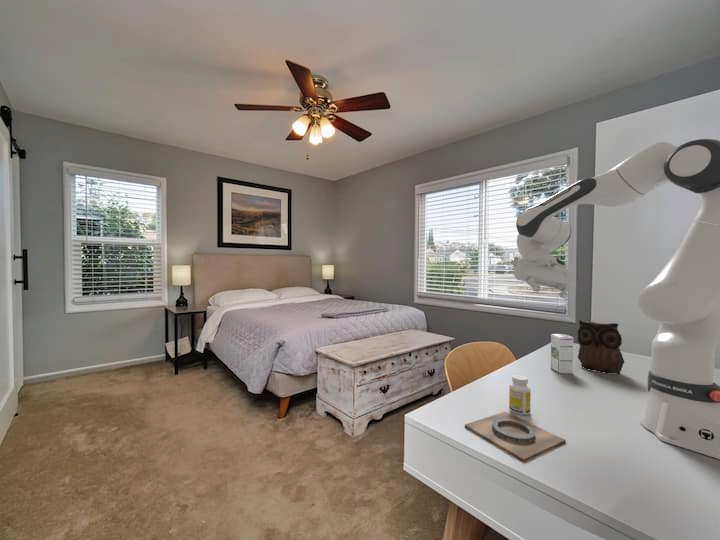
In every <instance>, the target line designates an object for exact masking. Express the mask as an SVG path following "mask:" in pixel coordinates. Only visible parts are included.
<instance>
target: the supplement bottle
mask: <svg viewBox="0 0 720 540" xmlns="http://www.w3.org/2000/svg"><path fill="white" fill-rule="evenodd" d="M511 378H512V380H511V381H512V382H511V383H510V384H509V391H508V392H509V395H508V396H509V400H508V401H509V405H508V407H509V411H510V412H512V413H513V414H515V415H519V416H528V415H530V414H531V395H532V394H531V393H532V392H531V387H530V385H528V383H529V379H528V377H527V376H524V375H519V374H514V375H512V377H511Z"/></svg>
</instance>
